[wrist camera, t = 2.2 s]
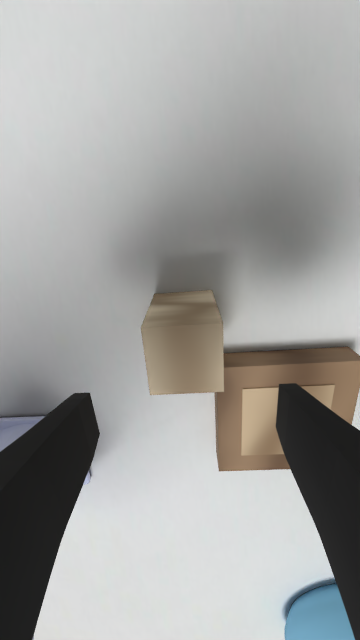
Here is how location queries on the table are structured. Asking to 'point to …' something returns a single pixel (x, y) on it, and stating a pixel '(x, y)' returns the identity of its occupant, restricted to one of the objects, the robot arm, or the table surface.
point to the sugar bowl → (319, 616)
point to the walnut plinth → (276, 399)
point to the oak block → (183, 343)
